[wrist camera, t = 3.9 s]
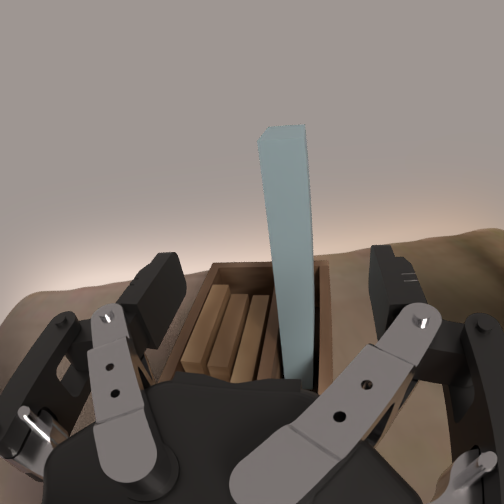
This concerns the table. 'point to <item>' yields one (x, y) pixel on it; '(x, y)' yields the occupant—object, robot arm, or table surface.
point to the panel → (291, 244)
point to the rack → (262, 283)
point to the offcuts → (228, 336)
